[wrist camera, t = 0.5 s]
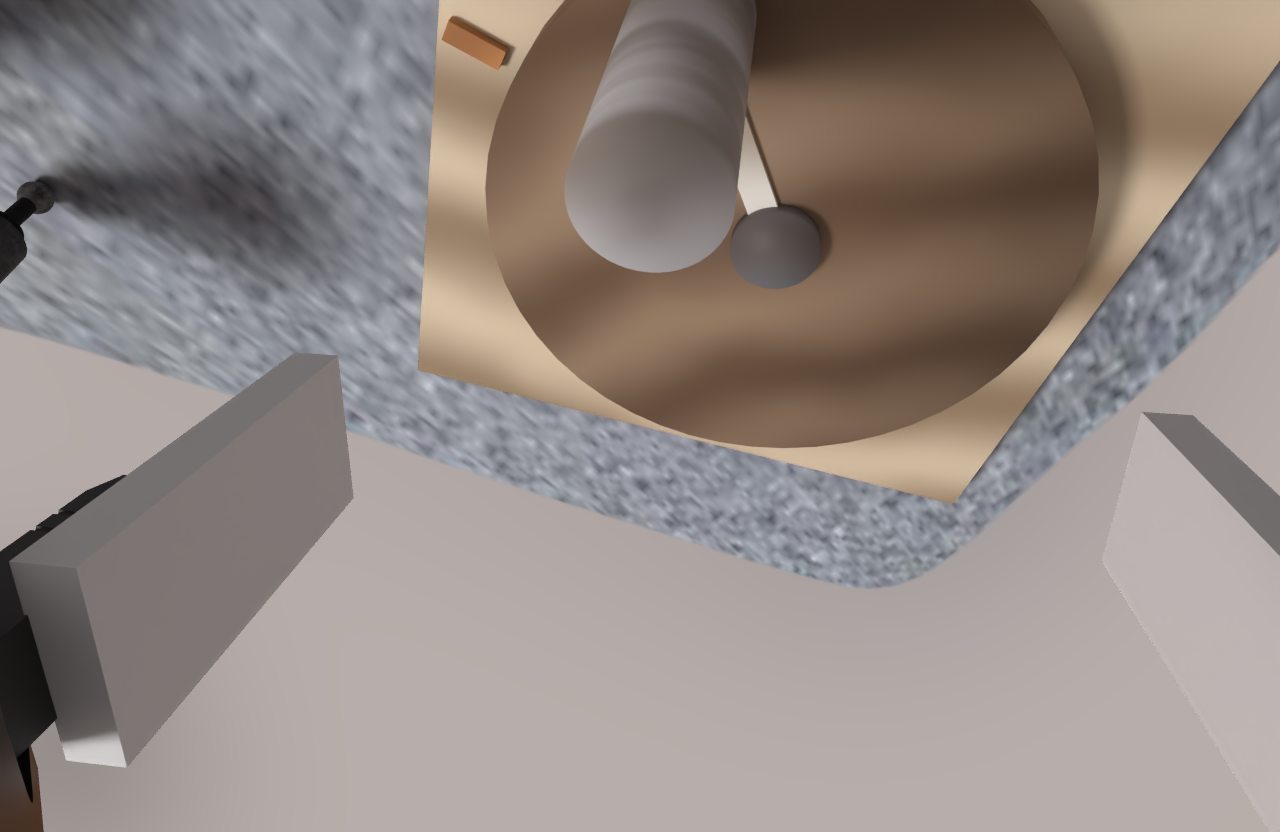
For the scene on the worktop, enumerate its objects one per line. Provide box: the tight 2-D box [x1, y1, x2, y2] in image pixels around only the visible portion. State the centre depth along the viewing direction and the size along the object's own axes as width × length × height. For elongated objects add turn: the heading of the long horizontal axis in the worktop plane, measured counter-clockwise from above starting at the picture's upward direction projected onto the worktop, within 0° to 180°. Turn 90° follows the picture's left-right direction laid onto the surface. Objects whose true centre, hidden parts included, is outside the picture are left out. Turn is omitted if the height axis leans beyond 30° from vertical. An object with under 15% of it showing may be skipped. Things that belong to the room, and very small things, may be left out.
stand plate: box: [418, 0, 1280, 504], centre depth 33 cm, size 25×25×2 cm
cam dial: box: [485, 0, 1099, 448], centre depth 28 cm, size 20×20×12 cm
